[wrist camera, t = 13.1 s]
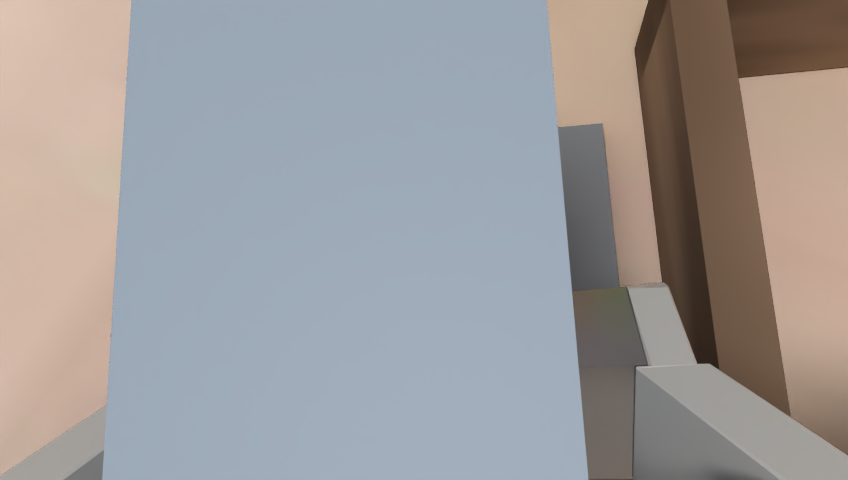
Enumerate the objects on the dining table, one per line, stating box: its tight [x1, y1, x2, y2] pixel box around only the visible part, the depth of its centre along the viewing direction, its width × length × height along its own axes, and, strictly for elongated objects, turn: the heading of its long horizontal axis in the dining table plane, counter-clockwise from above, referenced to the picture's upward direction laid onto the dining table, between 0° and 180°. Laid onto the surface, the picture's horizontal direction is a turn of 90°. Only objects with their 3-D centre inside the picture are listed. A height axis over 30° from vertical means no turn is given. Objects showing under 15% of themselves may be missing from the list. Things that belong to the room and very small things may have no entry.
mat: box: [558, 124, 633, 480], centre depth 16 cm, size 7×12×1 cm, turn 2°
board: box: [102, 0, 588, 480], centre depth 10 cm, size 4×7×10 cm, turn 2°
